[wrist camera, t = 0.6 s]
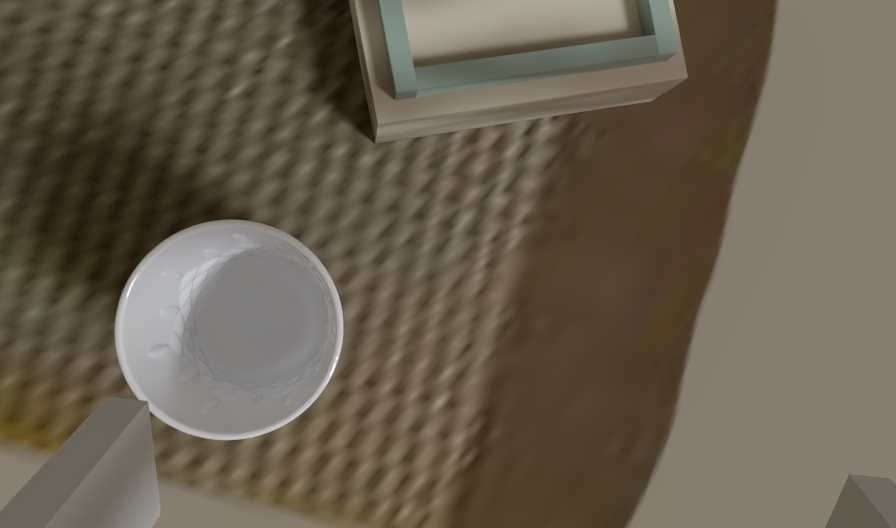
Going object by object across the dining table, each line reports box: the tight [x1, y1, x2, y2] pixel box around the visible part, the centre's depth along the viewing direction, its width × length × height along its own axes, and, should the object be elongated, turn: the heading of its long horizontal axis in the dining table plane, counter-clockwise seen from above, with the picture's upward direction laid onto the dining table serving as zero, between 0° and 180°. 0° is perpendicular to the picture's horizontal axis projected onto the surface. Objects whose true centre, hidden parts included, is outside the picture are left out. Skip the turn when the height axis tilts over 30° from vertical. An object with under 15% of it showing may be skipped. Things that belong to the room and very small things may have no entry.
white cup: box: [115, 220, 343, 440], centre depth 27 cm, size 8×8×10 cm
